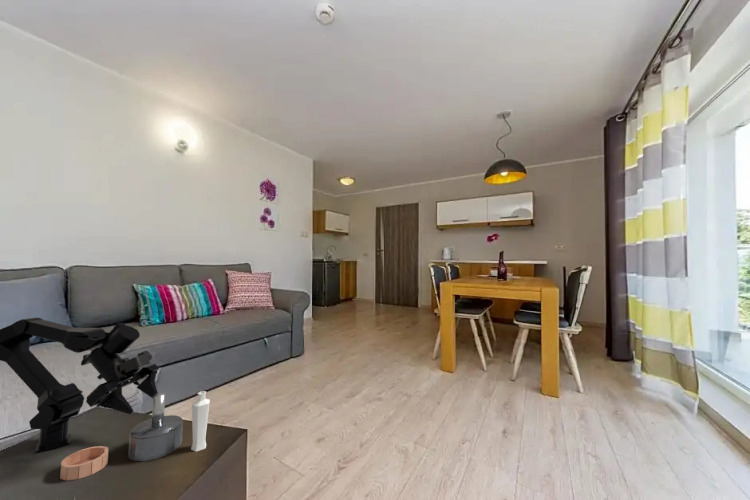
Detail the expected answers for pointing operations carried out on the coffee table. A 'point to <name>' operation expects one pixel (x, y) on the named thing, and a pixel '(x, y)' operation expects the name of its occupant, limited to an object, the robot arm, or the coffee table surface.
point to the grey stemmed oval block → (155, 433)
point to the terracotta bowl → (84, 463)
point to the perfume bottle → (199, 421)
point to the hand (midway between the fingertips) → (145, 405)
